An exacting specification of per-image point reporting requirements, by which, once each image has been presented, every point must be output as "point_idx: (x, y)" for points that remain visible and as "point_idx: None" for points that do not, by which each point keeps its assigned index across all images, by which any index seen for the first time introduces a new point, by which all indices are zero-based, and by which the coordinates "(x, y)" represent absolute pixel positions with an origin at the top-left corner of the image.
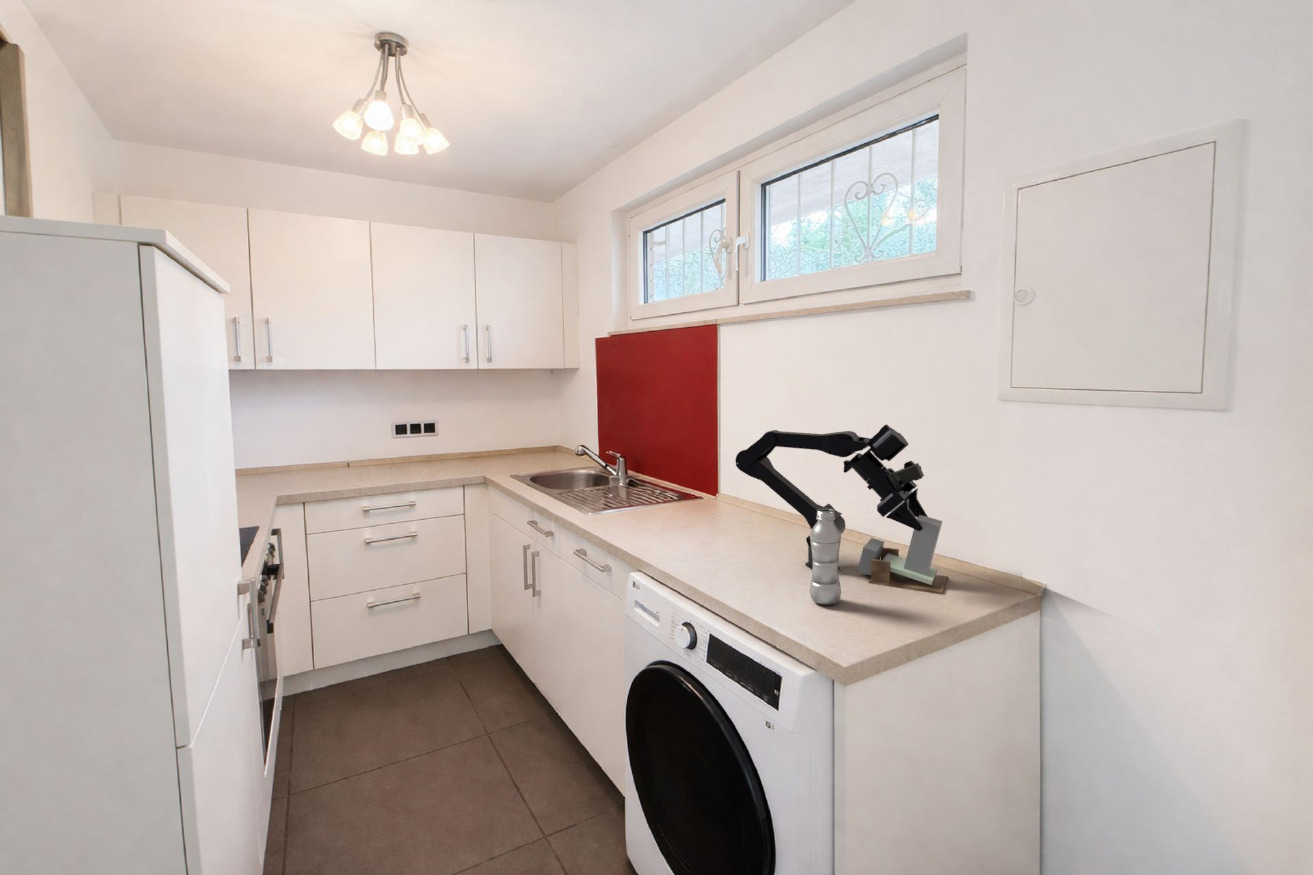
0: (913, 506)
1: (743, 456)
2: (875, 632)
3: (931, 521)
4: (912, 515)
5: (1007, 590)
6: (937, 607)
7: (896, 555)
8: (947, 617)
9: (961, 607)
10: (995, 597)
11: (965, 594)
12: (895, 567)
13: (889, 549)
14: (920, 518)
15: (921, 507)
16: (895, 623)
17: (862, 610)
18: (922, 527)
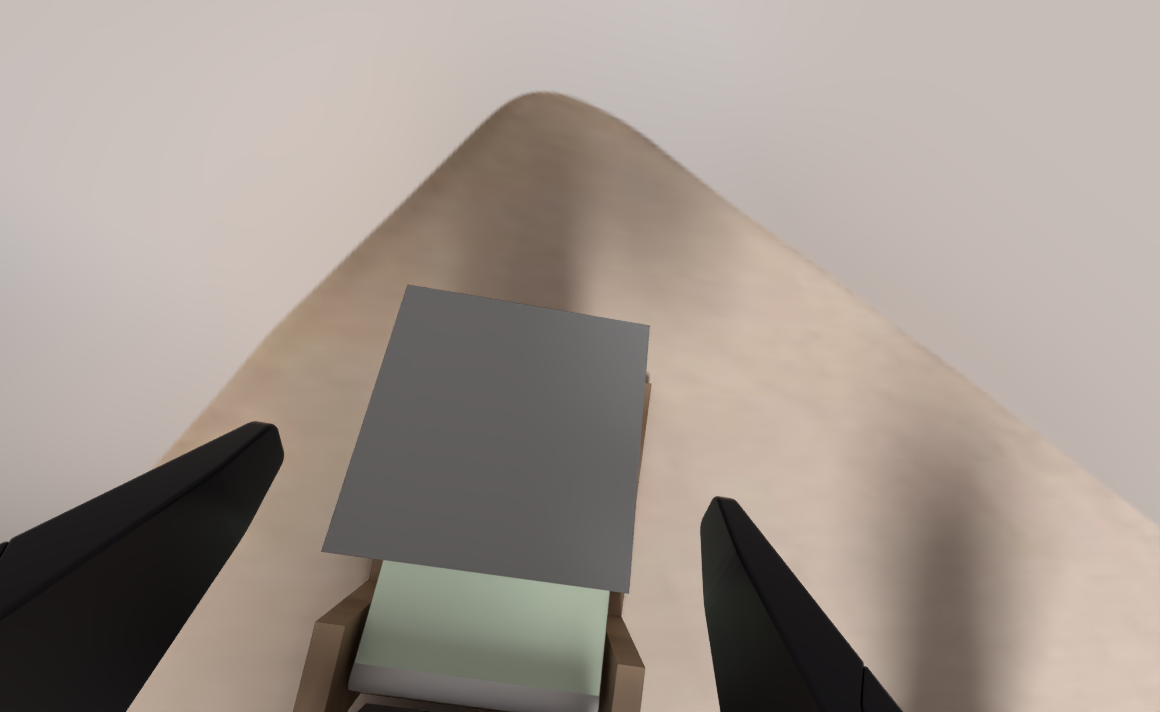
0: (37, 691)
1: None
2: (1131, 633)
3: (541, 403)
4: (887, 694)
5: (520, 147)
6: (801, 410)
7: (356, 621)
8: (883, 381)
9: (766, 326)
10: (615, 199)
11: (618, 298)
12: (587, 614)
13: (329, 688)
14: (527, 536)
15: (95, 539)
16: (1020, 564)
17: (956, 707)
18: (737, 504)
